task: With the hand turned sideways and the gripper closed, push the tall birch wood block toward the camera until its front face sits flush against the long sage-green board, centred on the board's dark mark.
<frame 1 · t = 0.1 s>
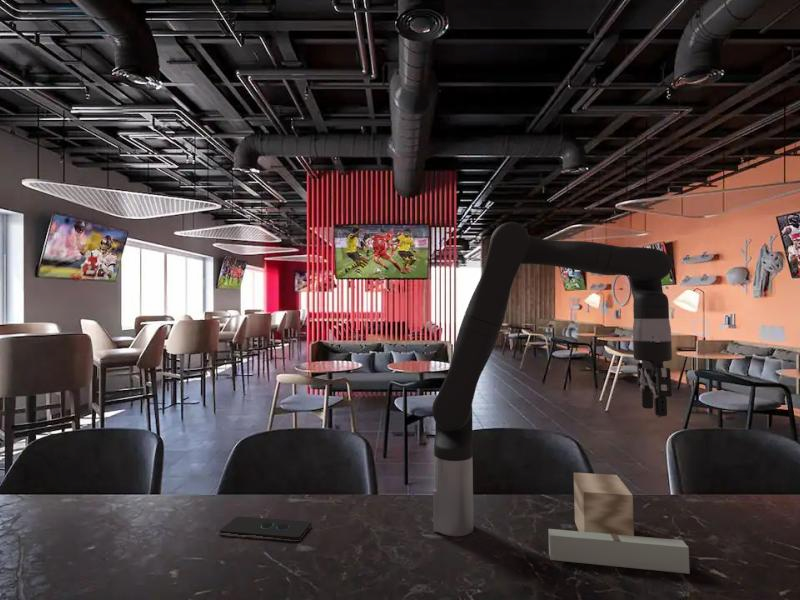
hand: (654, 411, 100), 29 cm above the countertop, tool pointing down, fingers open, 8 cm apart
sage board: (616, 562, 92), on the countertop
smart home device: (266, 533, 107), on the countertop
birch block: (602, 535, 104), on the countertop
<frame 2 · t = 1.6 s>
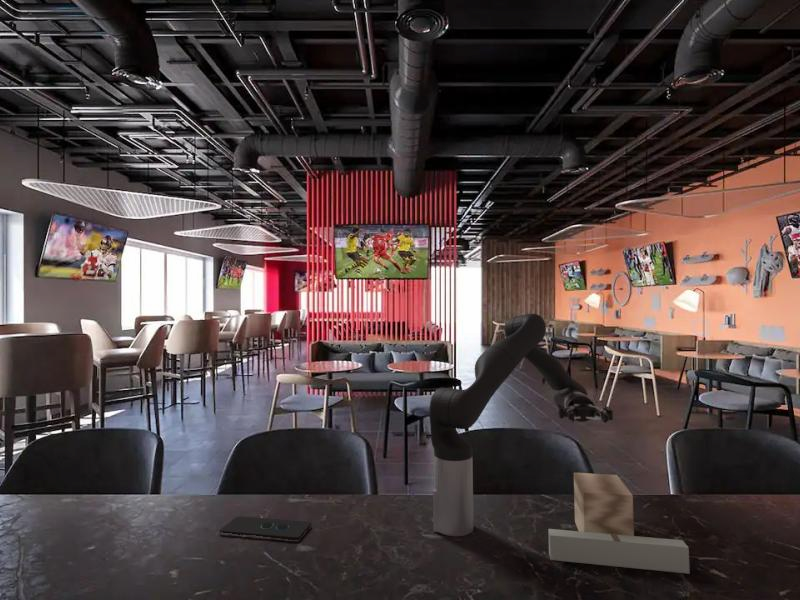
hand: (589, 418, 117), 24 cm above the countertop, tool horizontal, fingers open, 7 cm apart
nothing on the countertop moved.
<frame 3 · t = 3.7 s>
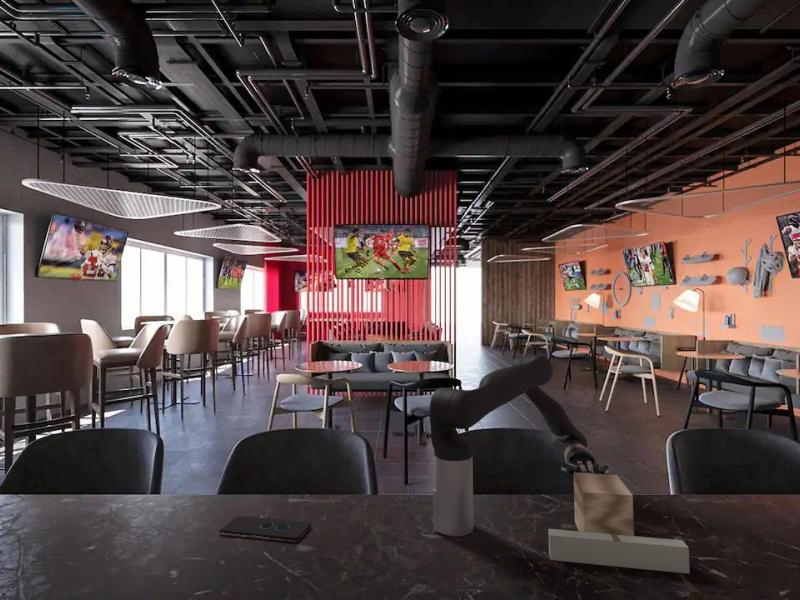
hand: (591, 480, 116), 8 cm above the countertop, tool horizontal, fingers closed
nothing on the countertop moved.
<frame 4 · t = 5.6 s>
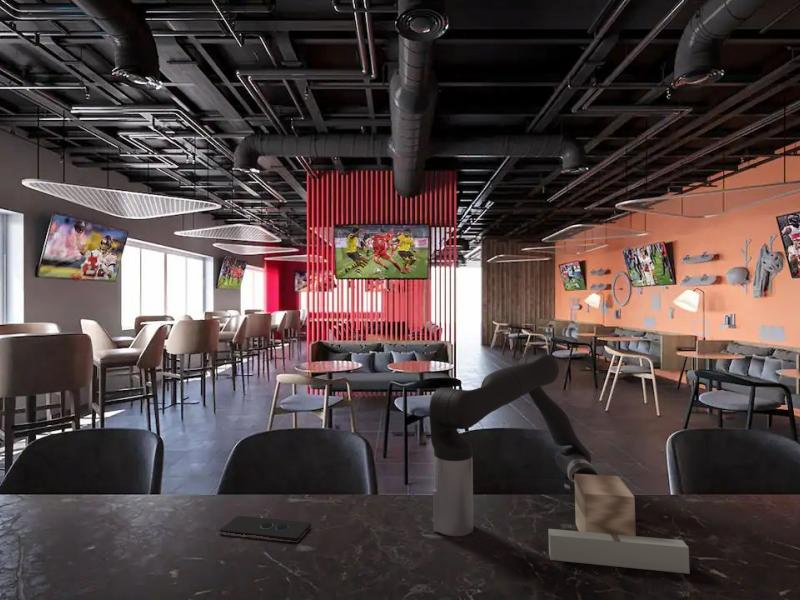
hand: (596, 499, 109), 6 cm above the countertop, tool horizontal, fingers closed
birch block: (603, 537, 102), on the countertop, touching gripper
everything else where it was.
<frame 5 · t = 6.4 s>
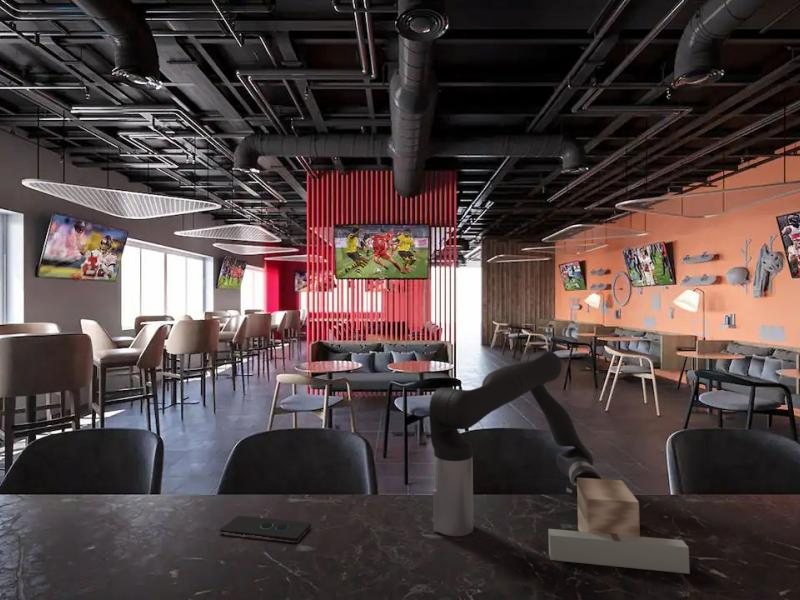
hand: (599, 504, 106), 6 cm above the countertop, tool horizontal, fingers closed
birch block: (607, 543, 100), on the countertop, touching gripper, sage board
everything else where it was.
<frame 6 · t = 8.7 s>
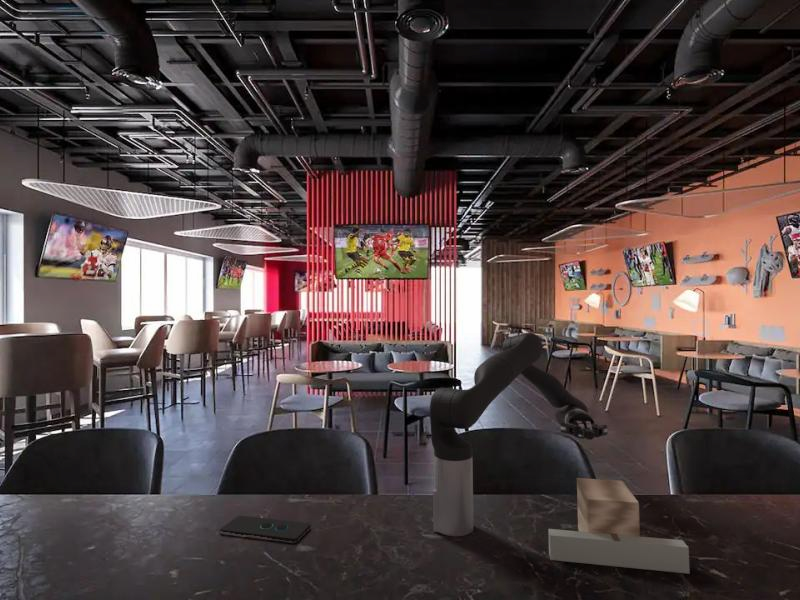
hand: (589, 435, 118), 19 cm above the countertop, tool horizontal, fingers closed
birch block: (607, 544, 100), on the countertop
everything else where it was.
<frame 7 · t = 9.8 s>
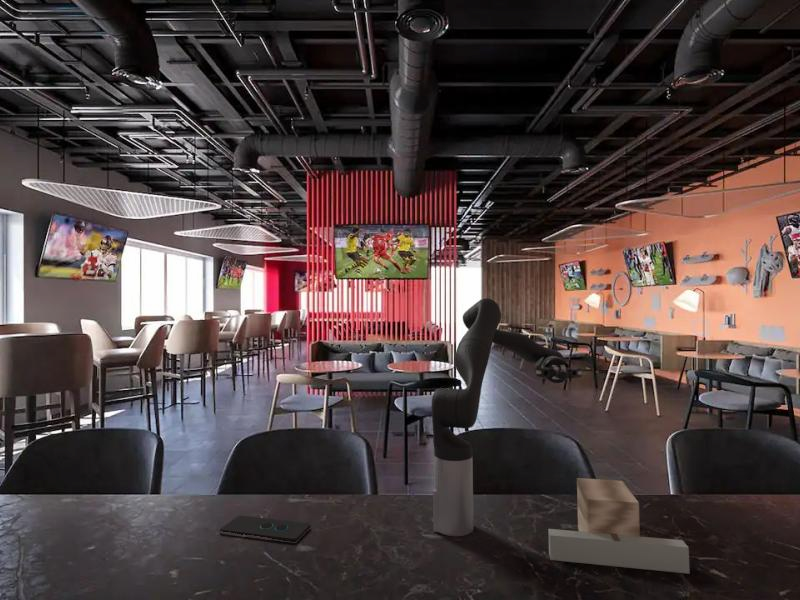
hand: (562, 375, 120), 35 cm above the countertop, tool horizontal, fingers closed
nothing on the countertop moved.
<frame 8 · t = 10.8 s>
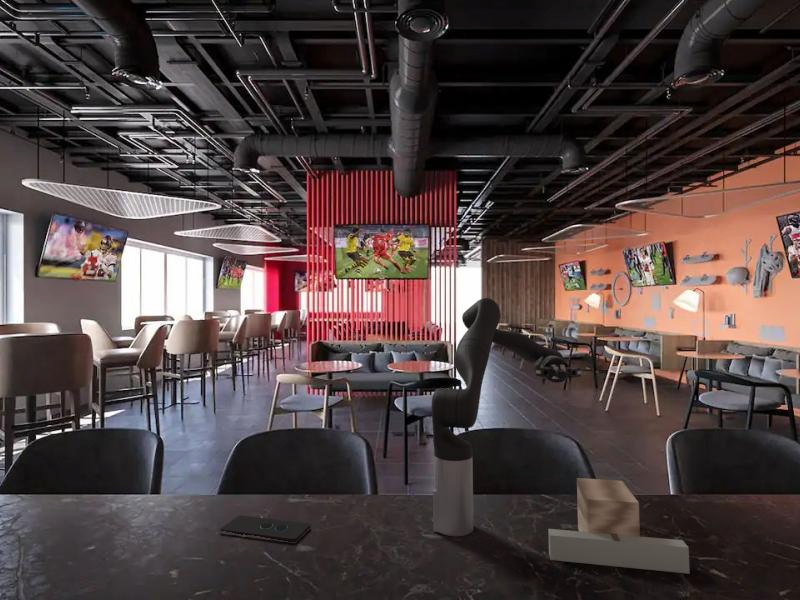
hand: (562, 375, 120), 35 cm above the countertop, tool horizontal, fingers closed
nothing on the countertop moved.
at the end: birch block 0.4 cm from the target spot on the countertop beside the sage board, on the countertop; birch block tilted 0° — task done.
